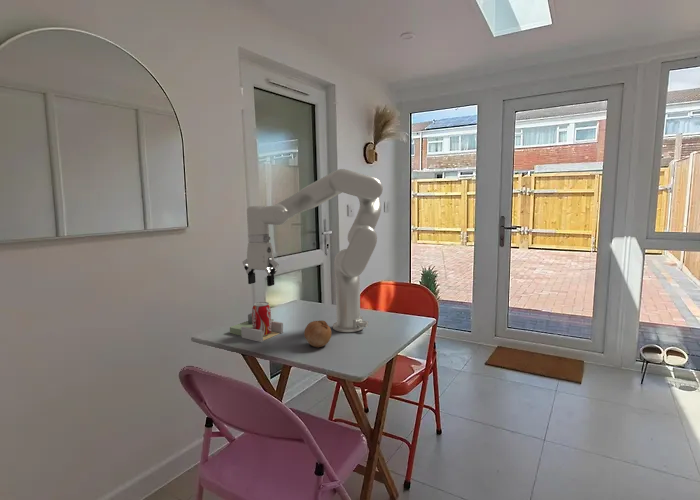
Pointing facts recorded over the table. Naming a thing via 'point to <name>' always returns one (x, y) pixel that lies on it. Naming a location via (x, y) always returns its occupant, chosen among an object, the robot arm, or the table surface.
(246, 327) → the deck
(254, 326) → the soda can
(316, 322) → the onion
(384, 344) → the table surface
